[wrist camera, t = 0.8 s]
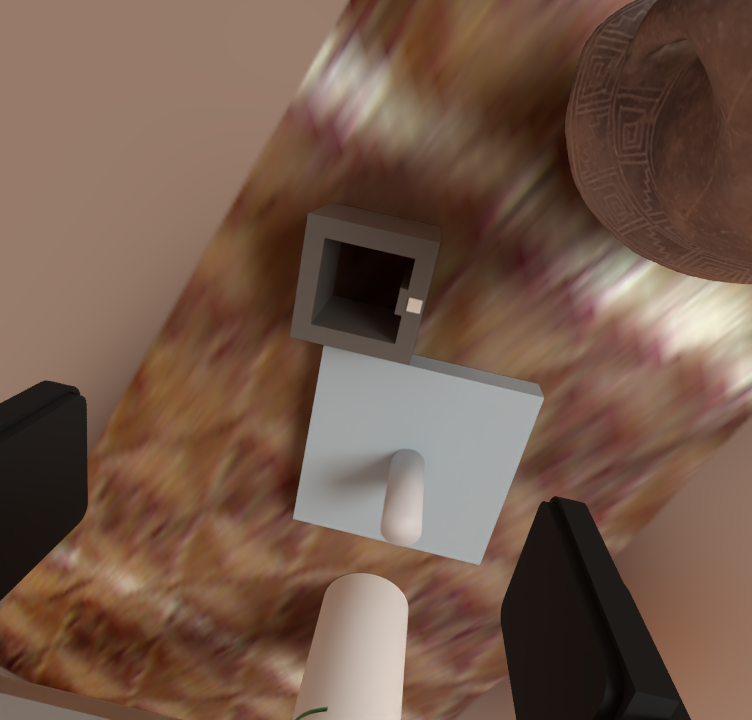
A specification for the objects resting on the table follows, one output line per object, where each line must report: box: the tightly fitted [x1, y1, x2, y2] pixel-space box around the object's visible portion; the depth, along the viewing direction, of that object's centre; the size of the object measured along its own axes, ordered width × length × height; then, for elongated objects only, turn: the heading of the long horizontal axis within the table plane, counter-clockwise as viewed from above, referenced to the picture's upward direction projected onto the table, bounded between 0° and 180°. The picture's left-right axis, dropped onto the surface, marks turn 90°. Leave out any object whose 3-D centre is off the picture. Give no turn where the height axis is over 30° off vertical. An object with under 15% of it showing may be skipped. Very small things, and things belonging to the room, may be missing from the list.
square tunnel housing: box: [290, 202, 441, 365], centre depth 28 cm, size 7×7×6 cm
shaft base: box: [293, 345, 544, 565], centre depth 32 cm, size 14×14×8 cm
